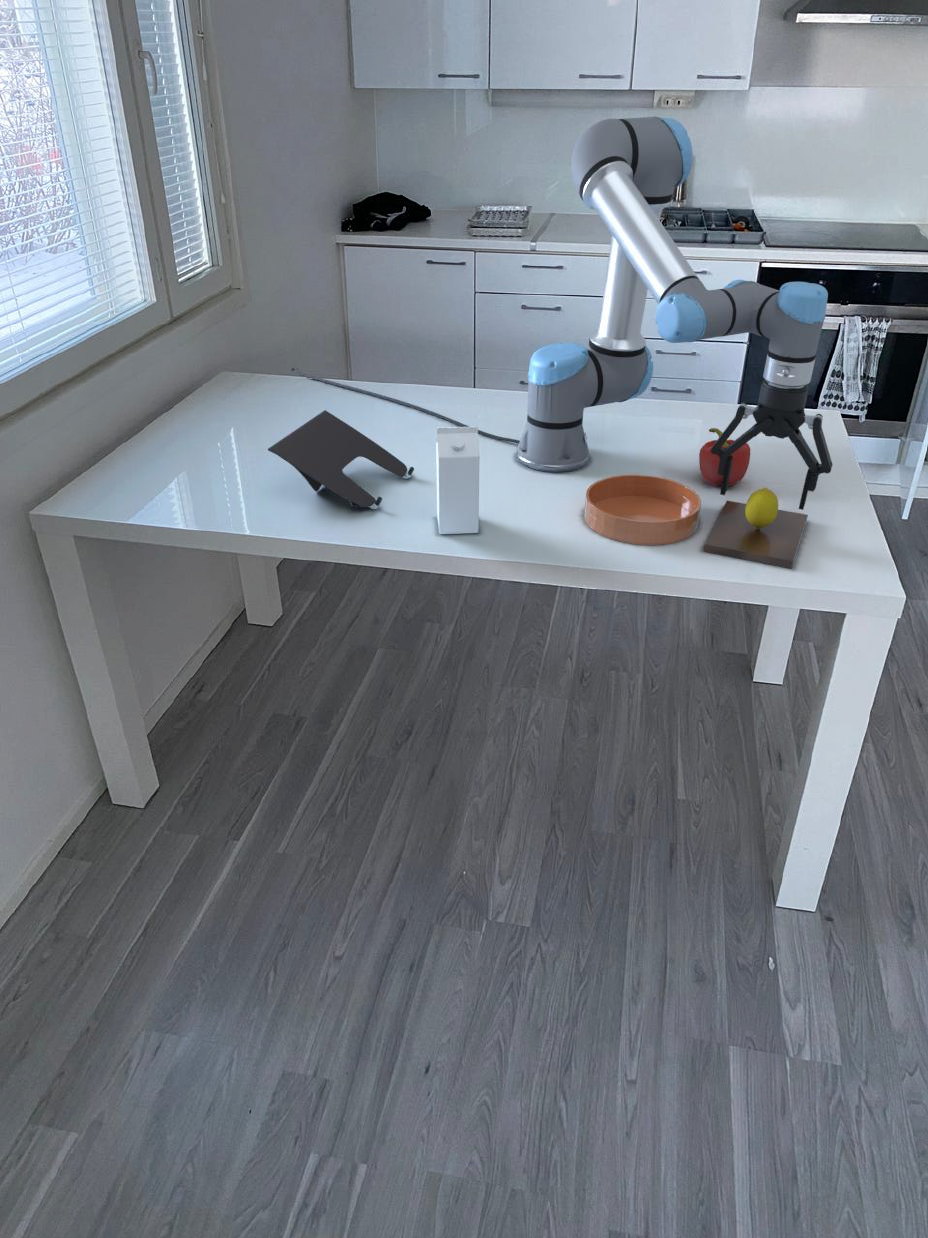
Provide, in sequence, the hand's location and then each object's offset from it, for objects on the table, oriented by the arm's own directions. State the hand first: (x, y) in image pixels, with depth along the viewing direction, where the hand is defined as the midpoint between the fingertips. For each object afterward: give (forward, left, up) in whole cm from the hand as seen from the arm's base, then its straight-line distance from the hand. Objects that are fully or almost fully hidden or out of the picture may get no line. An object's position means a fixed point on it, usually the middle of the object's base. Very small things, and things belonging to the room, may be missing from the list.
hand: (762, 499), depth 166 cm
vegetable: (-11, +22, -7) cm, 25 cm away
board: (0, 0, -7) cm, 7 cm away
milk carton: (-51, -19, -7) cm, 55 cm away
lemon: (0, 0, -6) cm, 6 cm away
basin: (-21, -2, -7) cm, 22 cm away
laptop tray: (-78, -12, -7) cm, 79 cm away
